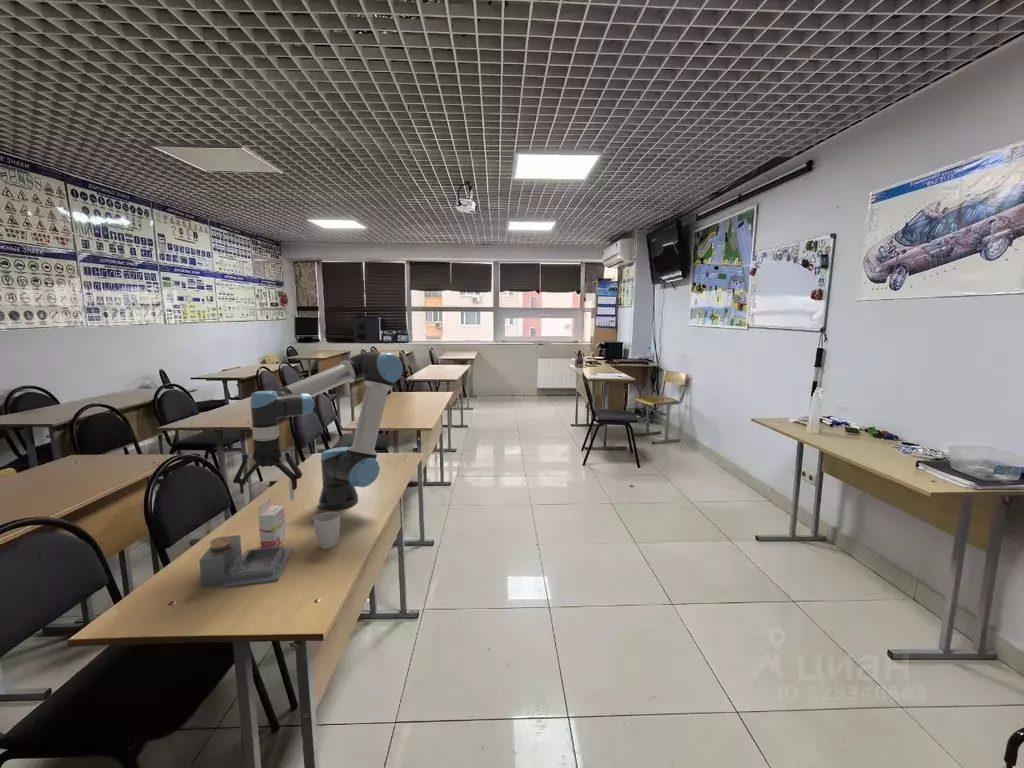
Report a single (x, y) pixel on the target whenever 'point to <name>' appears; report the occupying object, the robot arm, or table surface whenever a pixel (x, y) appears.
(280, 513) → the ink cartridge box
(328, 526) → the cup
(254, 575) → the grey stepped base
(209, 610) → the table surface
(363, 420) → the robot arm
